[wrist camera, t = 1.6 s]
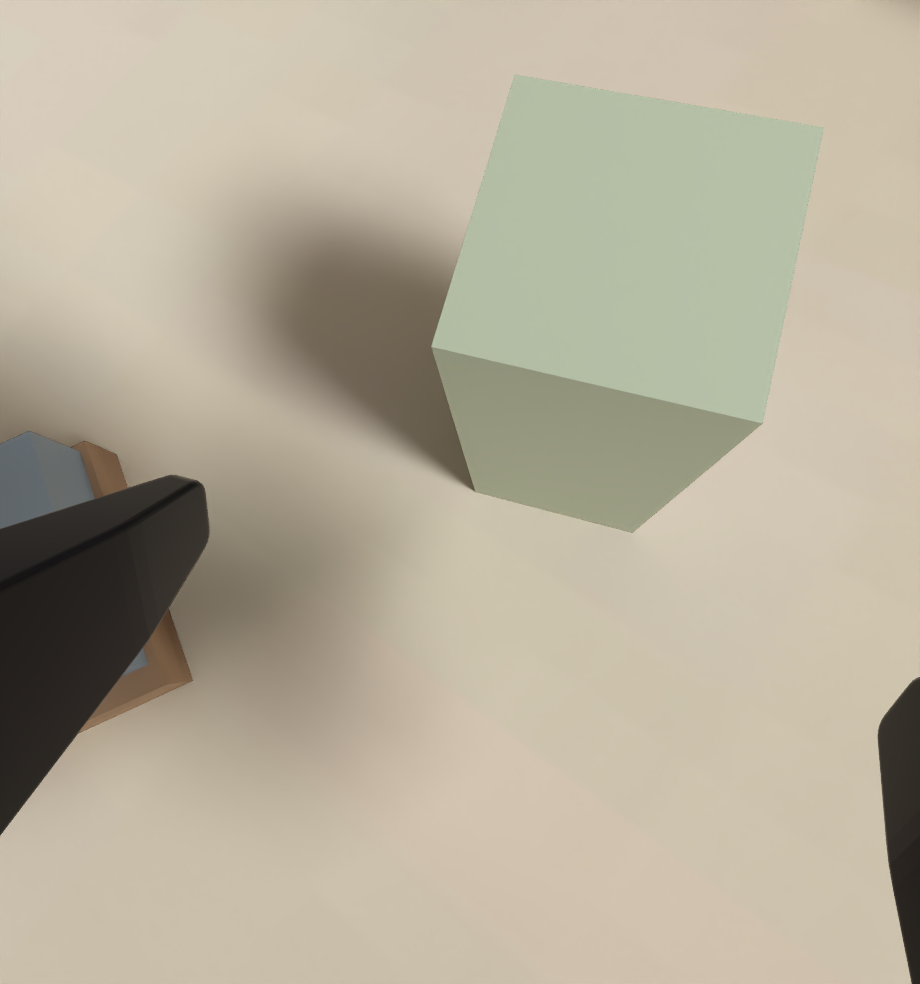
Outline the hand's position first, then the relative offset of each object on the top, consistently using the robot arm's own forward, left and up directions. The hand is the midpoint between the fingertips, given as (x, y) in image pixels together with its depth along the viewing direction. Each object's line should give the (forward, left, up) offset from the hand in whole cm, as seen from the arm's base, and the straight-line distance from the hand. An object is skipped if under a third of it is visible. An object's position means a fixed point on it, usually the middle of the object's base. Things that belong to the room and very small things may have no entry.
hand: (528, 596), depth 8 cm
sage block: (+6, 0, -12) cm, 13 cm away
